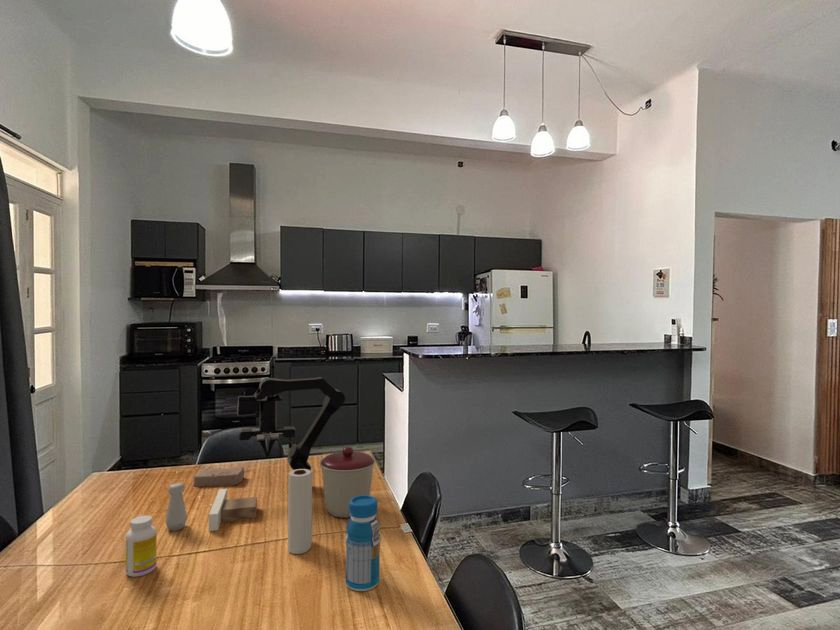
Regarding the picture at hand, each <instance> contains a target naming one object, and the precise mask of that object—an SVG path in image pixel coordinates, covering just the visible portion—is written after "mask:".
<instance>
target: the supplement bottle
mask: <svg viewBox="0 0 840 630" xmlns="http://www.w3.org/2000/svg"><path fill="white" fill-rule="evenodd" d="M129 523H130V525H129V527H130V530H128V532H127V533H126V534H125V574H126V575H127V576H129V577H134V578H135V577H142V576H145V575H148V574H150V573H151V572H153V571H154V570H155V569H156V567H157V528H156V527H155V526H153V525H152V523H153V517H152V516H151V515H140V516H137V517H134V518H132V519H131V520H130V522H129Z"/></svg>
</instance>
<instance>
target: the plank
mask: <svg viewBox="0 0 840 630" xmlns="http://www.w3.org/2000/svg"><path fill="white" fill-rule="evenodd" d="M224 500H228V488H220V489H218V491H217V494H216V497H215V498H214V501H213V503H212V506H211V509H210V511H209V514H208V532H215V531H219V529H220V525H221V523H222V522H221V509H222V506H223V503H224Z"/></svg>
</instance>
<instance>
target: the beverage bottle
mask: <svg viewBox="0 0 840 630" xmlns="http://www.w3.org/2000/svg"><path fill="white" fill-rule="evenodd" d="M349 513H350V516H351V517H349V519H348V521H347V524H346V527H345V532H346V536H345V540H344V543H345V584H346V586H347V588H348V589H350V590H353V591H355V592H356V591H357V592H367V591H370V590H372V589H375V587H377V585H378V584H379V583H380V561H381V560H380V557H381V553H380V552H381V551H380V550H381V549H380V547H381V539H382V538H381V534H380V530H381V525H380V522H379V520H378V518H377V513H378V499H377V498H376V497H374V496H372V495H370V496H369V495H361V496H356V497H353V498H352V499H351V500H350V503H349Z"/></svg>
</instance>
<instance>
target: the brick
mask: <svg viewBox="0 0 840 630" xmlns="http://www.w3.org/2000/svg"><path fill="white" fill-rule="evenodd" d="M244 477H245V468H244V467H242V466H241V467H240V466H239V467H236V466H235V467H229V468H218V467H217V468H216V467H215V468H202V469H200V470H198V472H196V473H195V475H194V476H193V487H216V486H217V487H218V486H234V485H236V486H237V485H239V484H241V482H242V481H243V479H244Z"/></svg>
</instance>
